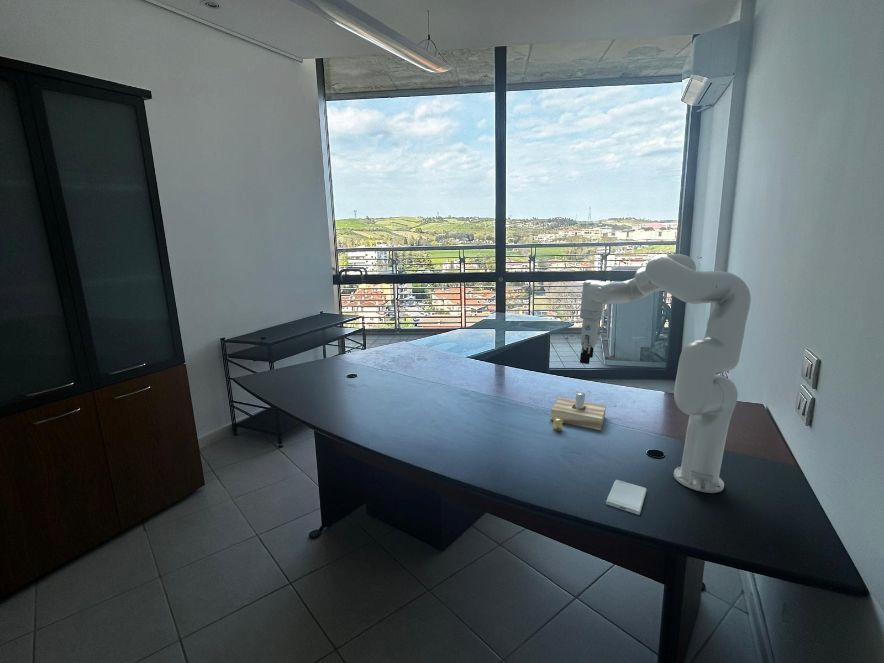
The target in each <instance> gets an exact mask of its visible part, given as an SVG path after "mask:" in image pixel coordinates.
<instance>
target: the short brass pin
mask: <svg viewBox="0 0 884 663" xmlns="http://www.w3.org/2000/svg"><path fill="white" fill-rule="evenodd" d="M552 423H553V426H552V430H553V431H554V432H563V426H564V425H563V424H564V423H563V419H562V418H558V417H556V418H554V421H553V422H552Z"/></svg>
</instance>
